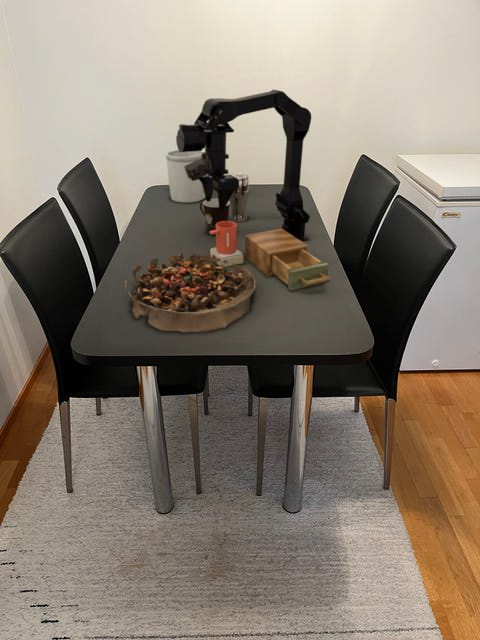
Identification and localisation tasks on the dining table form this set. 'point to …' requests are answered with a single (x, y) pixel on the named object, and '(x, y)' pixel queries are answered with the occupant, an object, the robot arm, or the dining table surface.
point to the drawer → (299, 269)
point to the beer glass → (240, 198)
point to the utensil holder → (183, 177)
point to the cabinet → (269, 247)
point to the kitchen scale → (227, 257)
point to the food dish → (192, 294)
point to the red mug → (226, 237)
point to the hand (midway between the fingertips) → (214, 205)
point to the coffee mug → (214, 214)
